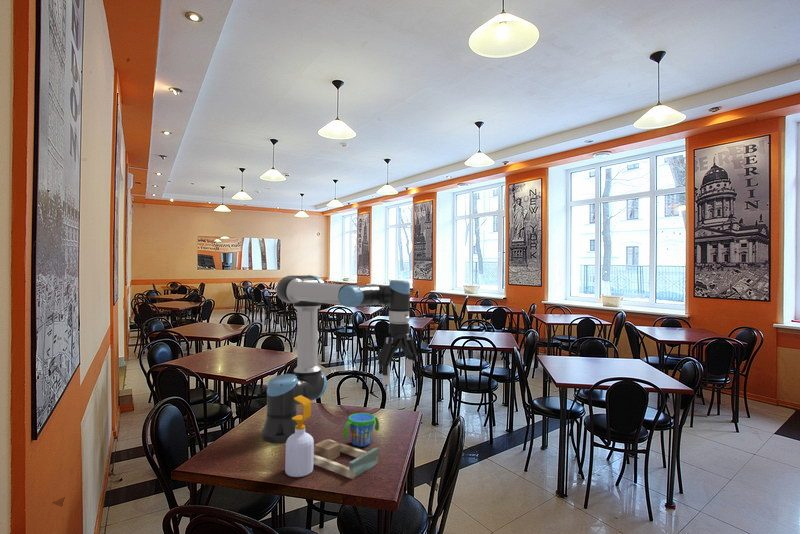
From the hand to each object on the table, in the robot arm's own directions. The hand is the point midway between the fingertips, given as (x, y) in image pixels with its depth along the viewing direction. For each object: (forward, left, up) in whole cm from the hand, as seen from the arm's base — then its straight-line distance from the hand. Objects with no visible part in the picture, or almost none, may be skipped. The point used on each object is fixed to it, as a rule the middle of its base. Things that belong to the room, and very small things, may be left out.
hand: (397, 380), depth 149 cm
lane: (-14, -16, -27) cm, 34 cm away
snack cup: (-17, 0, -27) cm, 32 cm away
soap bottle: (-20, -29, -27) cm, 44 cm away
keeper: (-20, -16, -27) cm, 37 cm away
